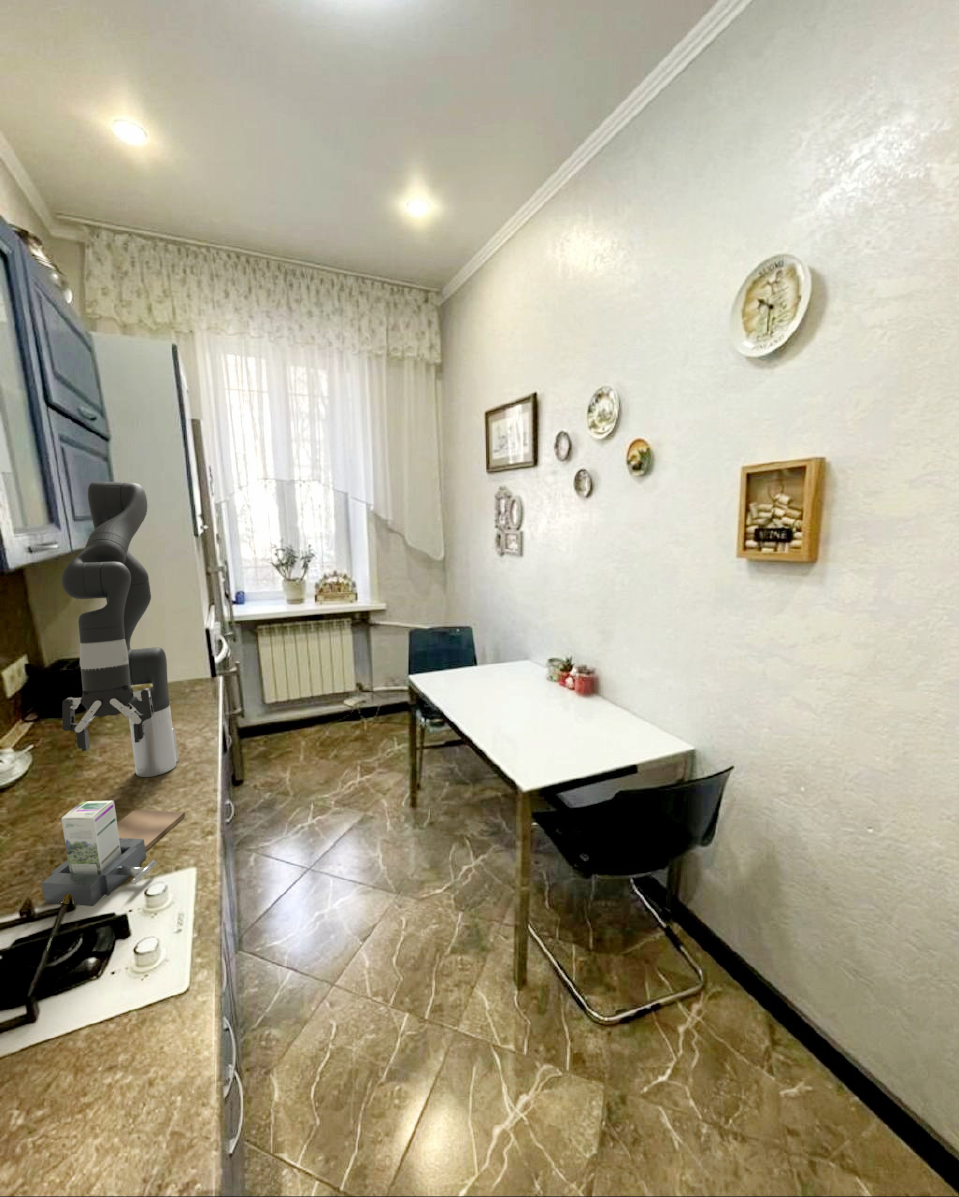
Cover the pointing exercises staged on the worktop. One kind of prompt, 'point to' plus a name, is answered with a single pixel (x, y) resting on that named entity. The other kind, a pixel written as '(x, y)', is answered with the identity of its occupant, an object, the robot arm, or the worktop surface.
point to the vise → (97, 877)
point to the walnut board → (148, 825)
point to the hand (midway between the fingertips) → (112, 745)
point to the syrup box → (91, 837)
